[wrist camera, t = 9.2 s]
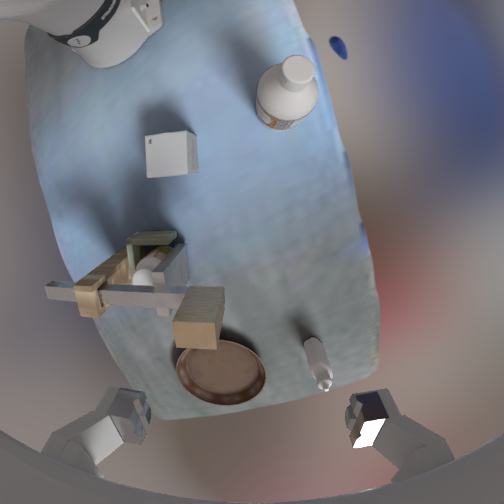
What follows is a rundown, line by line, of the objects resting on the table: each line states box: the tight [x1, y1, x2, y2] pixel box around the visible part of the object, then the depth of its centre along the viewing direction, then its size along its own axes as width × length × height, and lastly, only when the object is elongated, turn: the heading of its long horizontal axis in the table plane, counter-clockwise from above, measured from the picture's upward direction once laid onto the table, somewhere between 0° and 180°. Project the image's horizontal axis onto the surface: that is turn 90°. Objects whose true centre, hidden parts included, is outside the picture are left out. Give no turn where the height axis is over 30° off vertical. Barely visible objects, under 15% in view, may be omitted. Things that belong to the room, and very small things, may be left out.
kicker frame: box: [73, 230, 177, 318], centre depth 38 cm, size 10×10×17 cm
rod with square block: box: [45, 244, 225, 350], centre depth 35 cm, size 6×26×21 cm, turn 90°
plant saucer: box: [176, 339, 267, 406], centre depth 52 cm, size 18×18×3 cm
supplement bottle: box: [133, 245, 173, 286], centre depth 42 cm, size 5×5×10 cm
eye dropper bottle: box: [304, 337, 333, 391], centre depth 46 cm, size 4×6×12 cm
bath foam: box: [256, 55, 318, 131], centre depth 29 cm, size 7×7×20 cm
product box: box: [145, 130, 198, 178], centre depth 38 cm, size 6×6×7 cm
